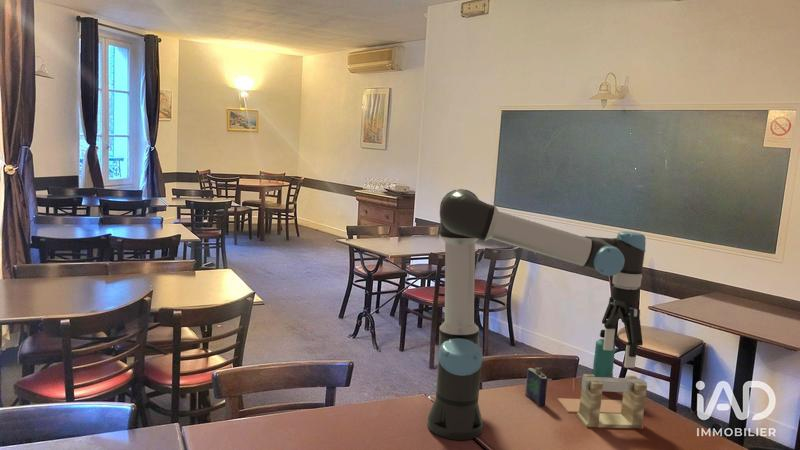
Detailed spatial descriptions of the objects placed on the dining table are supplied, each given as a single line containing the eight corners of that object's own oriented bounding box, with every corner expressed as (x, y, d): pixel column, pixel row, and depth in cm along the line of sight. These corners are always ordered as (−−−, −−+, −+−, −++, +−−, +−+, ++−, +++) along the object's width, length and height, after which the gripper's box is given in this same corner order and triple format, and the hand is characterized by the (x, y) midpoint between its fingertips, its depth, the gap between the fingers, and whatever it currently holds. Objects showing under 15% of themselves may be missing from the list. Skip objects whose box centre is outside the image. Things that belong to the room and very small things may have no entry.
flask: (523, 394, 185) (526, 362, 183) (531, 393, 186) (534, 361, 184) (539, 407, 176) (543, 373, 175) (548, 406, 177) (551, 373, 176)
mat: (567, 412, 174) (568, 411, 173) (557, 399, 182) (557, 398, 182) (634, 414, 175) (634, 413, 175) (621, 401, 184) (621, 400, 184)
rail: (585, 390, 165) (586, 380, 165) (581, 386, 168) (582, 376, 168) (645, 392, 167) (646, 382, 167) (640, 388, 170) (641, 378, 170)
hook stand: (586, 427, 165) (591, 383, 163) (576, 415, 172) (581, 374, 170) (643, 428, 166) (648, 385, 165) (631, 417, 173) (636, 375, 171)
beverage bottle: (613, 392, 191) (620, 334, 188) (593, 391, 191) (600, 333, 188) (607, 384, 197) (613, 328, 194) (587, 383, 197) (594, 327, 195)
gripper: (662, 298, 152) (652, 375, 154) (618, 277, 176) (611, 343, 179) (634, 297, 151) (625, 374, 154) (595, 276, 176) (588, 343, 178)
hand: (618, 358), depth 166 cm, fingers open, 13 cm apart
